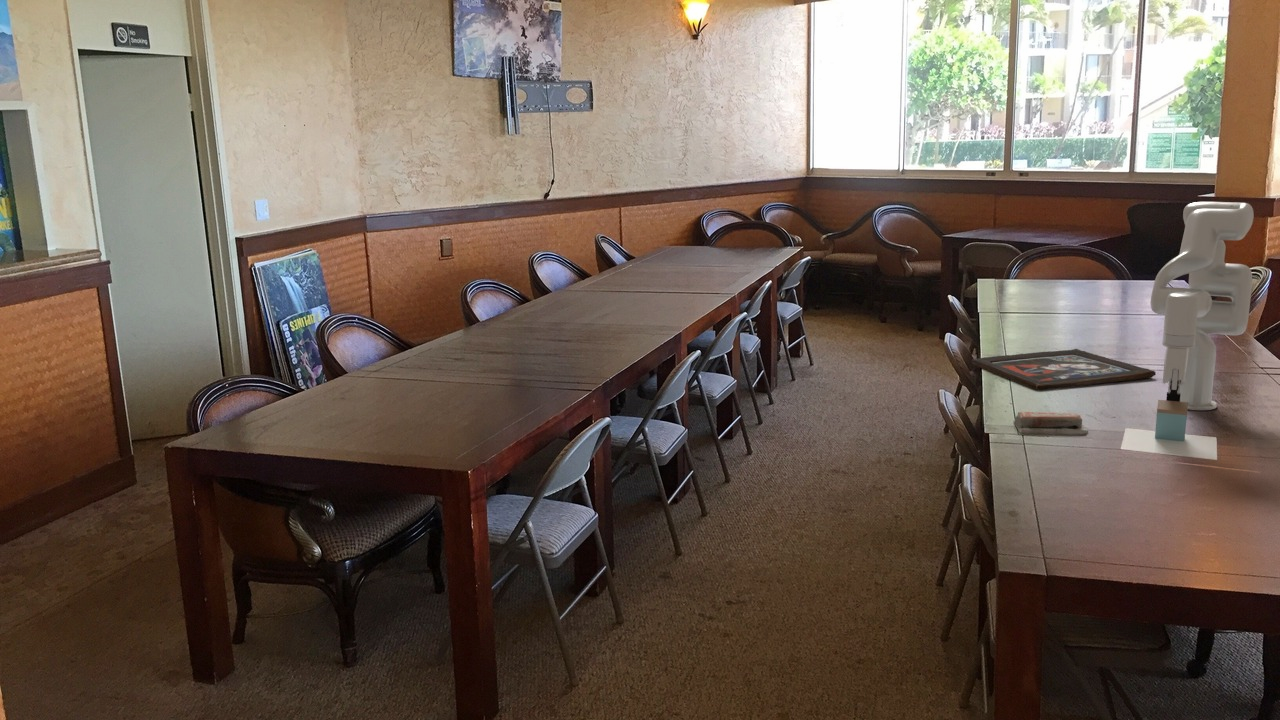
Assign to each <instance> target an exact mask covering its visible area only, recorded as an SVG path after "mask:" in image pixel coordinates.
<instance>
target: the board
mask: <svg viewBox="0 0 1280 720" xmlns="http://www.w3.org/2000/svg"><path fill="white" fill-rule="evenodd" d="M1217 441H1218V440H1217V437H1216V436H1204V435H1197V434H1187V433H1185V440H1184V441H1175V440H1165V439H1156V438H1155V430H1147V429H1138V428H1137V429H1136V428H1128V427H1126V428H1125V429H1124V434H1123V438H1122V442H1121V446H1120V450H1123V451H1124V450H1125V451H1134V452H1140V453H1141V452H1142V453H1151V454H1158V455H1159V454H1161V455H1168V456H1169V455H1171V456H1178V457H1179V456H1180V457H1187V458H1188V457H1189V458H1196V459H1204V460H1205V459H1206V460H1215V461H1217V460H1218V449H1217V448H1218V442H1217Z"/></svg>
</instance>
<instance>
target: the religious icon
mask: <svg viewBox="0 0 1280 720" xmlns="http://www.w3.org/2000/svg"><path fill="white" fill-rule="evenodd" d="M971 364H972V365H973V366H975V367H978V368H981V369H983V370H985V371H988V372H990V373H992V374H995V375H998V376H1001V377H1003V378H1006V379H1008V380H1010V381H1013V382H1015V383H1018V384H1020V385H1022V386H1026V388H1027V387H1028V388H1029V389H1032V390H1035V391H1046V390H1056V389H1057V390H1058V389H1066V388H1072V387H1073V388H1074V387H1075V388H1076V387H1084V386H1089V385H1098V384H1106V383H1107V384H1109V383H1115V382H1126V381H1133V380H1142V379H1143V380H1144V379H1150V378H1153V377H1155V376H1156V371H1155V370H1154V369H1153V370H1151V369H1150V368H1146V367H1145V368H1144V367H1141V366H1137V365H1133V364H1131V363H1127V362H1124V361H1123V362H1122V361H1120V360H1115V359H1112V358H1110V357H1109V358H1108V357H1105V356H1101V355H1098V354H1094V353H1091V352H1087V351H1085V350H1081V349H1078V348H1074V349H1067V350H1066V349H1064V350H1062V349H1061V350H1053V351H1039V352H1029V353H1028V352H1027V353H1018V354H1010V355H998V356H997V355H996V356H987V357H986V356H985V357H979V358H974V359H971Z"/></svg>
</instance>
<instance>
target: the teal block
mask: <svg viewBox="0 0 1280 720" xmlns="http://www.w3.org/2000/svg"><path fill="white" fill-rule="evenodd" d="M1155 418H1156V420H1155V430H1154V431H1155V438H1156V439H1165V440H1175V441H1184V440H1185V434H1186V429H1187V418H1188V402H1178V401H1166V399H1165V400H1164V399H1157V407H1156V417H1155Z"/></svg>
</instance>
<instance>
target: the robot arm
mask: <svg viewBox="0 0 1280 720" xmlns="http://www.w3.org/2000/svg"><path fill="white" fill-rule="evenodd" d="M1254 216H1255V214H1254V209H1253V207H1252V205H1251V204H1250V203H1248V202H1237V201H1236V202H1229V201H1226V202H1225V201H1197V202H1196V201H1195V202H1192V203H1188V204H1187V205H1186V206H1185V207H1184V208H1183V214H1182V220H1183V222H1184V230H1183V231H1184V232H1183V236H1182V240H1181V246H1180V250H1179V254H1178V255H1177V256H1175V257H1173V258H1172V259H1171V260H1169V261H1168V262H1167V263H1165V265H1164V266H1163V267H1162V268H1161V269H1160V270H1159V271H1158V273H1157V275H1156V276H1155V279H1154V282H1153V287H1152V291H1151V296H1150V308H1151V311H1152V312H1153V313H1155V314H1157V315H1162V316H1164V319H1163V331H1162V332H1163V333H1162V342H1161V343H1162V344H1161V345H1162V346H1164V347H1165V353H1164V362H1163V363H1164V365H1163V375H1162V384H1164V385H1166V383H1167V384H1168V386H1167V387H1168V388H1167V389H1168V391H1167V392H1166V399H1165V400H1166V401H1178V402H1188V410H1190V411H1210V410H1211V411H1212V410H1214V409H1216V408H1217V406H1218V403H1217V402H1216V401H1215V400H1212V399H1213V398H1212V396H1213V387H1214V376H1215V366H1216V360H1217V359H1216V357H1217V347H1216V344H1215V343H1214V341H1213V339H1212V338H1211V337H1210V335H1212V334H1214V335H1215V334H1216V335H1225V336H1239V335H1242V334H1244V333H1245V332H1246V330H1247V328H1248V324H1249V318H1250V317H1249V316H1250V305H1251V297H1252V289H1253V288H1252V287H1253V273H1252V270H1251V268H1250V267H1249V266H1248V265H1246V264H1242V263H1230V262H1229V263H1226V262H1225V257H1226V248H1227V247H1226V243H1225V241H1241V240H1242V239H1244V238H1245V237H1246V235H1247V234H1248V232H1249V231H1250V230H1251V227H1252V225H1253V222H1254ZM1185 275H1188V288H1186V287H1172V286H1168V285H1169V283H1171V282H1172V281H1173V280H1174V279H1177V278H1179V277H1182V276H1185ZM1213 297H1225V298H1226V297H1227V298H1230V299H1231V301H1220V300H1213V299H1212V298H1213ZM1209 334H1210V335H1209ZM1188 410H1187V411H1188Z"/></svg>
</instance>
